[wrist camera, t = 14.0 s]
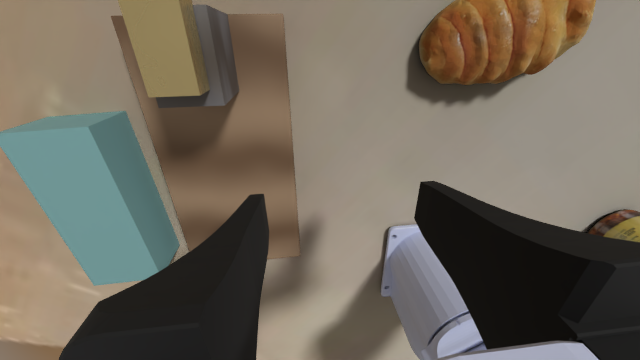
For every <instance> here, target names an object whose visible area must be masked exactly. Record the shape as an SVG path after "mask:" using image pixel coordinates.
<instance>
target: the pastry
mask: <svg viewBox="0 0 640 360" xmlns="http://www.w3.org/2000/svg"><path fill="white" fill-rule="evenodd" d="M595 2H596V0H455V1H454V2H452V3H451V4H450V5H448V6H447V7H446V8H445V9H443V10H442V11H441V12H440V13H438V14H437V15H436V16H435V18H434V19H433V20H432V21H431V23H430V24H429V25H428V26H427V28H426V29H425V30H424V32H423V33H422V36H421V39H420V41H419V53H420V59H421V62H422V64H423V65H424V67H425V69H426V71H427V73H428V74H429V75H431V76H432V77H433V78H434V79H435V80H437V81H438V82H439V83H441V84H445V83H449V84H451V83H458V84H463V85H471V84H475V83H493V84H498V83H501V82H504V81H507V80H509V79H511V78H513V77H515V76H518V75H520V74H522V73H525V74H535V73H537V72H539V71H541V70H543V69H544V68H546V67H547V66H548V65H549V64H550V63H552V62H553V60H554V59H556V58H558V57H559V56H561V55H562V54H563V53H564V52H566V51H567V50H568V49H569V48H571V47H572V46H574V45H576V44H577V43H579V42H580V40H581V39H582V37H583V36H584V35H585V34H586V32H587V30H588V28H589V25H590V22H591V20H592V16H593V12H594V7H595Z"/></svg>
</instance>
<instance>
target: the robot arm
mask: <svg viewBox="0 0 640 360" xmlns="http://www.w3.org/2000/svg"><path fill="white" fill-rule="evenodd" d="M414 218H415V221H416V223H417V224H416V225H404V226H393V227H391V228H390V229H389V231H388V238H387V246H386V253H385V261H384V268H383V276H382V284H381V291H380V292H381V295H382V296H383V297H387V296H391V298H392V301H393V303H394V306H395V308H396V311H397V313H398V316H399V318H400V321H401V323H402V326H403V328H404V331H405V333H406V336H407V338H408V341H409V343H410V346H411V348H412V350H413V351H414V353H415V354H416V355H417V357H418V358H419V359H420V360H640V242H635V241H628V240H622V239H615V238H609V237H604V236H599V235H594V234H589V233H584V232H579V231H575V230H570V229H566V228H562V227H558V226H554V225H550V224H547V223H543V222H539V221H536V220H532V219H529V218H526V217H523V216H520V215H517V214H514V213H511V212H508V211H505V210H503V209H500V208H498V207H495V206H492V205H490V204H487V203H485V202H483V201H480V200H478V199H476V198H473V197H471V196H469V195H466V194H464V193H462V192H460V191H457V190H455V189H453V188H451V187H448V186H446V185H443V184H441V183H438V182H435V181H427V182H421V183H420V189H419V194H418V200H417V206H416V211H415V217H414ZM393 235H395V236H393ZM268 250H269V225H268V218H267V211H266V205H265V198H264V194H252V195H249V196H248V197H247V198H246V200H245V201H244V202H243V203H242V204H241V205H240V206H239V207H238V209H237V210H236V211H235V212H234V213H233V214H232V215H231V216H230V217H229V218H228V220H227V221H226V222H225V223H223V224H222V225H221V226H220V227H219V228H218V229H217V230H216V231H215V232H214V233H213V234H212V235H211V236H210V237H208V238H207V239H206V240H205V241H203V242H202V243H201V244H200V245H198V246H197V247H196V248H194V249H193V250H192V251H190V252H189V253H187V254H186V255H184V256H183V257H181V258H180V259H178V260H177V261H175V262H174V263H172V264H171V265H169V266H168V267H166V268H164V269H163V270H161V271H159V272H157V273H156V274H154V275H152V276H150V277H148V278H147V279H145V280H143V281H141V282H139V283H137V284H135V285H133V286H131V287H129V288H127V289H125V290H123V291H121V292H119V293H117V294H115V295H113V296H110V297H108V298H106V299H104V300H102V301H100V302H98V303H97V305H96V306H95V307H94V309H93V310H92V311H91V313H90V314H89V315H88V317H87V318H86V319H85V321H84V322H83V323H82V325H81V326H80V328H79V329H78V330H77V332H76V333H75V334H74V336H73V337H72V338H71V340H70V341H69V342H68V344H67V345H66V347H65V348H64V349H63V351H62V353H61V355H60V357H59V360H256V350H257V333H258V318H259V305H260V297H261V291H262V285H263V279H264V273H265V268H266V262H267V256H268Z"/></svg>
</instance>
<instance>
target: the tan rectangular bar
mask: <svg viewBox="0 0 640 360" xmlns="http://www.w3.org/2000/svg"><path fill="white" fill-rule="evenodd" d="M118 2H119V6H120V9H121V12H122V15H123V18H124V21H125V25H126V28H127V31H128V34H129V37H130V40H131V44H132V47H133V50H134V53H135V56H136V59H137V63H138V66H139V69H140V72H141V75H142V78H143V81H144V85H145V88H146V91H147V94H148V97H173V96H200V95H202V94H203V93H205V92H207V91H208V90H210V87H209V83H208V78H207V73H206V68H205V63H204V58H203V53H202V49H201V44H200V39H199V34H198V29H197V24H196V20H195V15H194V10H193V5H192V0H118Z"/></svg>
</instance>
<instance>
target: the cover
mask: <svg viewBox="0 0 640 360" xmlns="http://www.w3.org/2000/svg"><path fill="white" fill-rule="evenodd" d="M0 147H1V148H2V150H3V151H4V152H5V154H6V155H7V157H8V158H9V160H10V161H11V163H12V164H13V166H14V167H15V169H16V170H17V172H18V173H19V175H20V176H21V178H22V179H23V181H24V182H25V184H26V185H27V187H28V188H29V190H30V191H31V193H32V194H33V196H34V197H35V198H36V200H37V201H38V203H39V204H40V206H41V207H42V209H43V210H44V212H45V213H46V215H47V216H48V218H49V219H50V221H51V222H52V224H53V225H54V227H55V228H56V230H57V231H58V233H59V234H60V236H61V237H62V239H63V240H64V242H65V243H66V245H67V246H68V247H69V249H70V250H71V252H72V253H73V255H74V256H75V258H76V259H77V261H78V262H79V264H80V265H81V267H82V268H83V270H84V271H85V273H86V274H87V276H88V277H89V279H90V280H91V282H92V283H93V285H94V286H95V285H104V284H113V283H121V282H130V281H139V280H145V279H147V278H148V277H150V276H152V275H154V274H156V273H157V272H159V271H161V270H163V269H164V268H166V267H168V265H169V264H170V262H171V260H172V258H173V256H174V254H175V253H176V251H177V249H178V247H179V245H180V244H179V242H178V239H177V237H176V234H175V232H174V229H173V227H172V224H171V222H170V220H169V217H168V215H167V212H166V210H165V207H164V205H163V202H162V200H161V197H160V195H159V192H158V190H157V187H156V185H155V182H154V180H153V178H152V175H151V173H150V170H149V168H148V165H147V163H146V160H145V158H144V155H143V153H142V150H141V148H140V145H139V143H138V141H137V138H136V136H135V133H134V131H133V128H132V126H131V123H130V121H129V118H128V116H127V113H126V111H119V112H106V113H93V114H80V115H67V116H54V117H46V118H43V119H40V120H37V121H33V122H30V123H27V124H24V125H20V126H17V127H14V128H11V129H8V130H4V131H1V132H0Z"/></svg>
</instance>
